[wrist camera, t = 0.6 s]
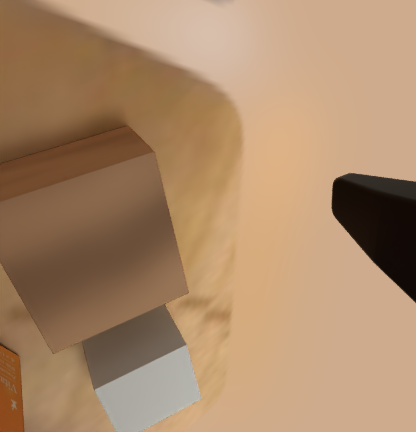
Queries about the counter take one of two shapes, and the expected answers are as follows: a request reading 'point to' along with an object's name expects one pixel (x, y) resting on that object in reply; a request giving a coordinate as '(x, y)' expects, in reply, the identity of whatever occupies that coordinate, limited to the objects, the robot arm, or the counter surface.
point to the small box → (10, 393)
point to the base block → (88, 236)
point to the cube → (141, 371)
